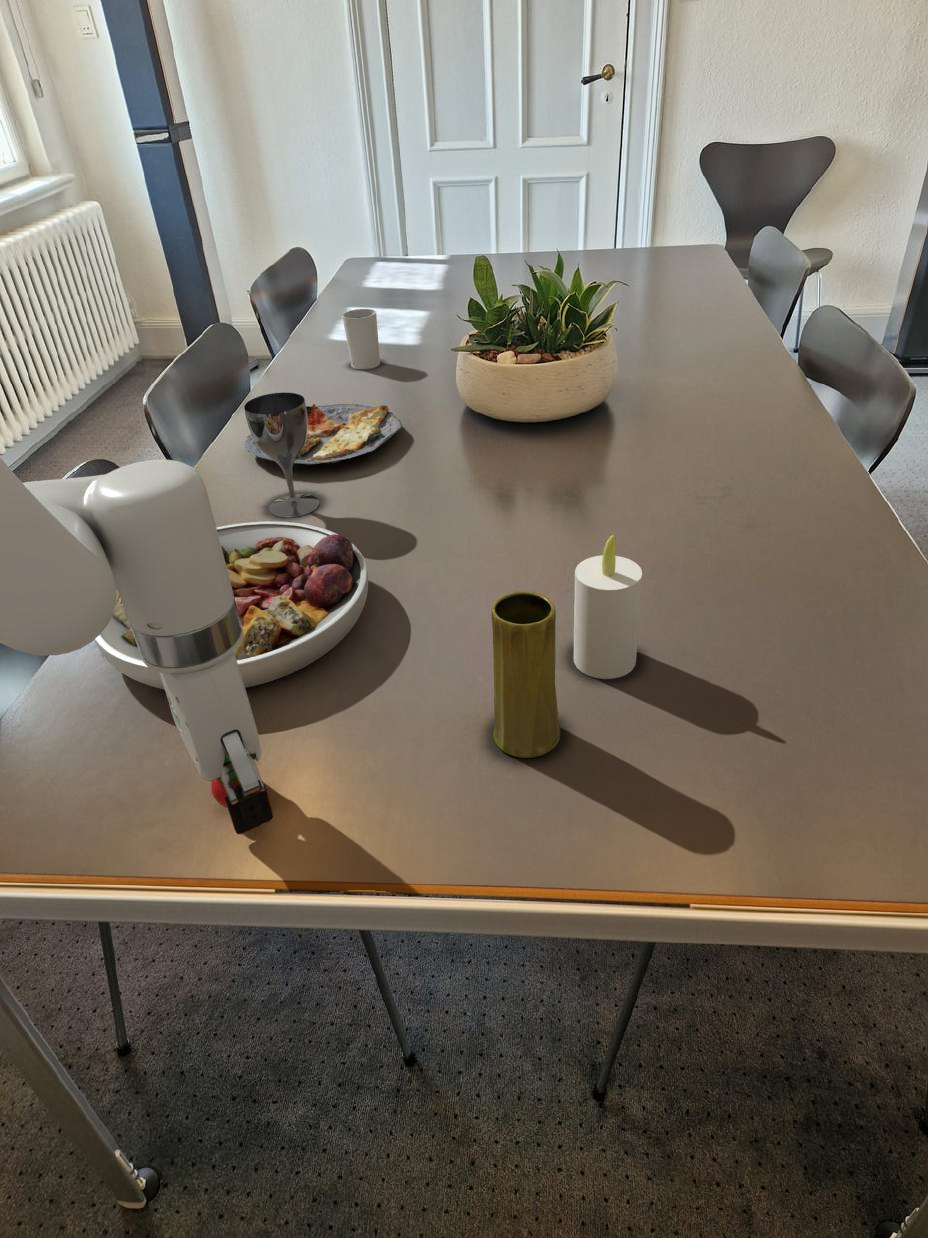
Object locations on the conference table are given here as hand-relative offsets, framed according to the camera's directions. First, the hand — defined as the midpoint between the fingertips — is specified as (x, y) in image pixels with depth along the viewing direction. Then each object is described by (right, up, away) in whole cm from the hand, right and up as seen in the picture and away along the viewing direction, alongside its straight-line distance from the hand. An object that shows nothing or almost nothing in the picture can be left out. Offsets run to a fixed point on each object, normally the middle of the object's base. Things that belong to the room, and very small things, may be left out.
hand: (239, 795), depth 73 cm
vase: (+25, +4, +5) cm, 26 cm away
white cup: (0, +66, +97) cm, 117 cm away
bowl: (-6, +15, +24) cm, 28 cm away
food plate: (-3, +43, +65) cm, 78 cm away
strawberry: (0, -1, +1) cm, 1 cm away
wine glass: (-5, +31, +47) cm, 57 cm away
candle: (+34, +11, +14) cm, 38 cm away
